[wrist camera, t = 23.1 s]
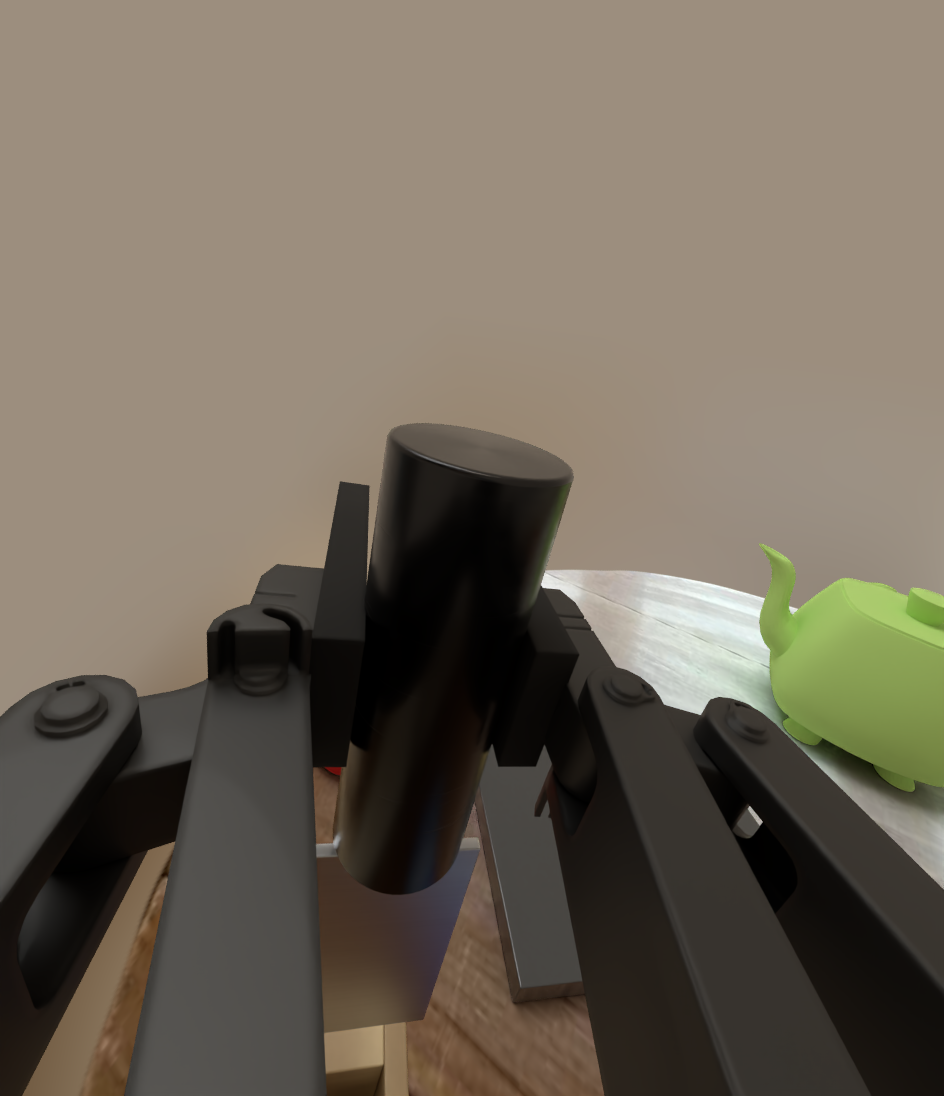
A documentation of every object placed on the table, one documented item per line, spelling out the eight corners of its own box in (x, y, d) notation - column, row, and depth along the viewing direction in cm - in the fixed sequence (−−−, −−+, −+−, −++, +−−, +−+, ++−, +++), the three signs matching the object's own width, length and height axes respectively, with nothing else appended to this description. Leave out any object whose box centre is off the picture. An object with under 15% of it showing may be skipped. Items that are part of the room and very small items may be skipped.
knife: (273, 1104, 12) (336, 452, 5) (290, 972, 15) (348, 405, 8) (427, 1078, 13) (647, 499, 6) (419, 959, 16) (572, 445, 9)
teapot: (928, 707, 56) (1024, 592, 50) (1009, 860, 38) (1175, 712, 32) (706, 614, 65) (762, 506, 59) (688, 702, 48) (764, 561, 41)
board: (512, 1003, 24) (520, 988, 23) (462, 738, 38) (466, 724, 37) (834, 963, 29) (848, 950, 28) (684, 742, 42) (691, 729, 42)
